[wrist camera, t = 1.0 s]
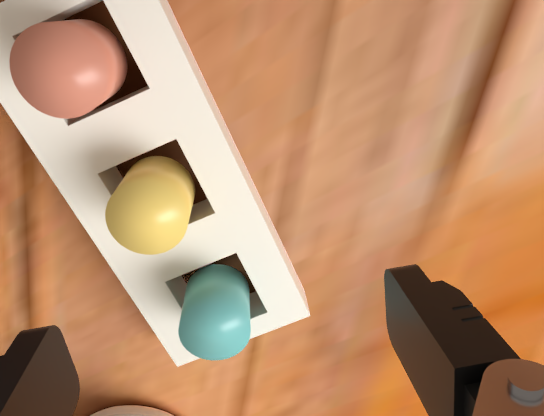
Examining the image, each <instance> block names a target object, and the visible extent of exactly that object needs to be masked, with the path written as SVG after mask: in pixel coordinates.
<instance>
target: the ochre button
mask: <svg viewBox="0 0 544 416" xmlns="http://www.w3.org/2000/svg"><path fill="white" fill-rule="evenodd" d="M194 197H195V184H194V181H193V178H192V176H191V174H190V173H189V171H188V170H187V169H186V168H185V167H184V166H183V165H182V164H180V163H179V162H177V161H176V160H173V159H171V158H168V157H164V156H151V157H146V158H143V159H141V160H139V161H138V162H136V163H135V164H134V165H133V166H132V167H131V168H130V169H129V171H128V172H127V174H126V175H125V177H124V178H123V179H122V181H121V182H120V184H119V185H118V187H117V188H116V190H115V191H114V193H113V194H112V196H111V197H110V199H109V201H108V203H107V206H106V210H105V220H106V224H107V227H108V230H109V232H110V233H111V235H112V236H113V238H114V239H115V240H116V241H117V242H118V243H119V244H120V245H122V246H123V247H125V248H126V249H128V250H130V251H133V252H135V253H139V254H145V255H154V254H160V253H164V252H166V251H169V250H171V249H172V248H174V247H175V246H176V245H177V244H179V242H180V241H181V240H182V239H183V237H184V235H185V233H186V230H187V227H188V223H189V218H190V214H191V210H192V206H193V202H194Z"/></svg>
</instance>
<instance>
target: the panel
mask: <svg viewBox="0 0 544 416" xmlns="http://www.w3.org/2000/svg"><path fill="white" fill-rule="evenodd" d="M101 1H104V3H105V5H106V7H107V8H108V10H109V12H110V14H111V16H112V18H113V20H114V22H115V24H116V26H117V27H118V29H119V31H120V33H121V35H122V37H123V39H124V41H125V43H126V45H127V46H128V48H129V50H130V52H131V54H132V56H133V58H134V60H135V62H136V63H137V65H138V67H139V69H140V71H141V73H142V75H143V77H144V79H145V81H146V82H147V84H148V86H146V87H143V88H141V89H139V90H137V91H135V92H132V93H130V94H128V95H126V96H124V97H122V98H119V99H117V100H115V101H113V102H111V103H108V104H106V105H104V106H102V107H100V108H97V109H95V110H93V111H91V112H89V113H87V114H85V115H83V116H80V117H76V118H69V119H64V118H56V117H52V116H49V115H47V114H44V113H42V112H40V111H38V110H37V109H35V108H34V107H33V106H31V105H30V104H29V103H28V102H27V101H26V100H25V99H24V98H23V97H22V95H21V94H20V93H19V91H18V90H17V88H16V86H15V84H14V82H13V79H12V76H11V72H10V63H9V59H10V52H11V48H12V46H13V44H14V42H15V40H16V38H17V37H18V36H19V35H20V34H21V33H22V32H23V31H24V30H25V29H27V28H28V27H30V26H32V25H35V24H37V23H42V22H52V21H62V20H64V19H66V18H68V17H70V16H72V15H74V14H76V13H78V12H81V11H83V10H85V9H87V8H89V7H91V6H93V5H95V4H97V3H99V2H101ZM0 103H1V104H2V106H3V107H4V109H5V110H6V112H7V113H8V115H9V116H10V118H11V119H12V121H13V122H14V124H15V125H16V127H17V128H18V130H19V131H20V133H21V134H22V136H23V137H24V139H25V140H26V142H27V143H28V145H29V146H30V148H31V149H32V151H33V152H34V154H35V155H36V157H37V158H38V160H39V161H40V162H41V164H42V165H43V167H44V168H45V170H46V171H47V173H48V174H49V176H50V177H51V179H52V180H53V182H54V183H55V185H56V186H57V188H58V189H59V191H60V192H61V194H62V195H63V197H64V198H65V200H66V201H67V203H68V204H69V206H70V207H71V209H72V210H73V212H74V213H75V215H76V216H77V218H78V219H79V221H80V222H81V224H82V225H83V227H84V228H85V230H86V231H87V233H88V234H89V236H90V237H91V239H92V240H93V242H94V243H95V245H96V246H97V248H98V249H99V251H100V252H101V254H102V255H103V256H104V258H105V259H106V261H107V262H108V264H109V265H110V267H111V268H112V270H113V271H114V273H115V274H116V276H117V277H118V279H119V280H120V282H121V283H122V285H123V286H124V288H125V289H126V291H127V292H128V294H129V295H130V297H131V298H132V300H133V301H134V303H135V304H136V306H137V307H138V309H139V310H140V312H141V313H142V315H143V316H144V318H145V319H146V321H147V322H148V324H149V325H150V327H151V328H152V330H153V331H154V333H155V334H156V336H157V337H158V339H159V340H160V342H161V343H162V345H163V346H164V348H165V349H166V350H167V352H168V353H169V355H170V356H171V358H172V359H173V361H174V362H175V364H176V365H177V367H178V366H181V365H183V364H186V363H189V362H191V361H194V360H196V359H199V357H197V356H195V355H193V354H191V353H190V352H189V351H187V350H186V349H185V347H184V346H183V345H182V343H181V341H180V338H179V334H178V329H179V323H180V318H181V312H182V307H183V302H184V297H185V291H186V286H187V284H186V282H185V281H184V279H183V277H182V276H181V275H183V274H186V273H188V272H190V271H193V270H195V269H198V268H200V267H203V266H205V265H208V264H210V263H213V262H215V261H218V260H220V259H222V258H225V257H227V256H230V255H232V254H235V253H237V255H238V257H239V259H240V261H241V263H242V265H243V267H244V269H245V270H246V272H247V274H248V276H249V278H250V280H251V282H252V284H253V286H254V288H255V289H256V291H255V292H253V293H250V324H251V334H250V339H251V338H254V337H256V336H259V335H261V334H264V333H267V332H269V331H272V330H274V329H277V328H280V327H282V326H285V325H288V324H290V323H293V322H295V321H298V320H301V319H303V318H306V317H308V316H310V312H309V308H308V303H307V299H306V295H305V290H304V288H303V286H302V284H301V282H300V280H299V278H298V276H297V274H296V271H295V269H294V267H293V265H292V263H291V261H290V259H289V257H288V254H287V252H286V250H285V248H284V246H283V244H282V242H281V240H280V238H279V235H278V233H277V231H276V229H275V227H274V225H273V223H272V221H271V219H270V216H269V214H268V212H267V210H266V208H265V206H264V204H263V202H262V200H261V197H260V195H259V193H258V191H257V189H256V187H255V185H254V183H253V181H252V178H251V176H250V174H249V172H248V170H247V168H246V166H245V164H244V162H243V159H242V157H241V155H240V153H239V151H238V149H237V147H236V145H235V142H234V140H233V138H232V136H231V134H230V132H229V130H228V128H227V126H226V123H225V121H224V119H223V117H222V115H221V113H220V111H219V109H218V107H217V104H216V102H215V100H214V98H213V96H212V94H211V92H210V90H209V88H208V85H207V83H206V81H205V79H204V77H203V75H202V73H201V71H200V69H199V66H198V64H197V62H196V60H195V58H194V56H193V54H192V52H191V49H190V47H189V45H188V43H187V41H186V39H185V37H184V35H183V33H182V30H181V28H180V26H179V24H178V22H177V20H176V18H175V16H174V14H173V11H172V9H171V7H170V5H169V3H168V1H167V0H5V1H3V2H1V3H0ZM175 139H177V141H178V143H179V145H180V147H181V149H182V151H183V153H184V155H185V157H186V158H187V160H188V162H189V164H190V166H191V168H192V170H193V172H194V174H195V176H196V177H197V179H198V181H199V183H200V185H201V187H202V189H203V191H204V193H205V194H206V196H207V198H208V199H206V200H203V201H201V202H199V203H196V204H194V205H193V206H192V210H191V214H190V218H189V223H188V227H187V230H186V233H185V235H184V237H183V239H182V240H181V241H180V242H179V244H177V245H176V246H175V247H174V248H172V249H171V250H169V251H166V252H164V253H160V254H154V255H145V254H139V253H135V252H133V251H130V250H128V249H126V248H125V247H123V246H122V245H120V244H119V243H118V242H117V241H116V240H115V239H114V238H113V236H112V235H111V233H110V232H109V230H108V227H107V224H106V220H105V210H106V206H107V203H108V201H109V199H110V197H111V196H112V194H113V193H114V191H115V190H116V188H117V187H118V185H119V184H120V182H121V181H122V179H123V177H122V175H121V174H120V172H119V170H118V169H117V167H116V165H118V164H120V163H123V162H125V161H127V160H130V159H132V158H134V157H136V156H139V155H141V154H143V153H145V152H148V151H150V150H152V149H154V148H157V147H159V146H161V145H164V144H166V143H168V142H170V141H173V140H175Z"/></svg>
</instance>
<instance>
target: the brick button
mask: <svg viewBox="0 0 544 416" xmlns="http://www.w3.org/2000/svg"><path fill="white" fill-rule="evenodd" d="M9 63H10V72H11V76H12V79H13V82H14V84H15V86H16V88H17V90H18V91H19V93H20V94H21V95H22V97H23V98H24V99H25V100H26V101H27V102H28V103H29V104H30V105H31V106H33V107H34V108H35V109H37V110H38V111H40V112H42V113H44V114H47V115H49V116H52V117H56V118H64V119H69V118H76V117H80V116H83V115H85V114H87V113H89V112H90V111H92V110H93V109H94V108H96V107H97V106H99V105H100V104H102V103H103V102H104V101H106V100H107V99H109V98H110V97H111V96H113V95H114V94H115V93H117V92H118V91H119V89H120V88H121V87H122V85H123V83H124V81H125V79H126V75H127V67H128V66H127V58H126V54H125V51H124V48H123V46H122V44H121V43H120V41H119V40H118V38H117V37H116V36H115V35H114V34H113V33H112V32H111V31H110V30H109V29H108V28H106V27H105V26H103V25H101V24H99V23H97V22H94V21H91V20H86V19H76V20H64V21H52V22H42V23H37V24H35V25H32V26H30V27H28V28H27V29H25V30H24V31H23V32H22V33H21V34H20V35H19V36H18V37H17V38H16V40H15V42H14V44H13V46H12V48H11V52H10V59H9Z"/></svg>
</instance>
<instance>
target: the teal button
mask: <svg viewBox="0 0 544 416" xmlns="http://www.w3.org/2000/svg"><path fill="white" fill-rule="evenodd" d="M178 334H179V338H180V341H181V343H182V345H183V346H184V347H185V349H186V350H187V351H189V352H190V353H191V354H193V355H195V356H197V357H199V358H202V359H206V360H223V359H227V358H230V357H232V356H234V355H236V354H238V353H239V352H240V351H242V350H243V349H244V347H245V346H246V345H247V343H248V341H249V339H250V334H251V324H250V293H249V285H248V282H247V280H246V278H245V277H244V275H243V274H242V273H241V272H240V271H238V270H237V269H235V268H233V267H230V266H227V265H222V264H213V265H208V266H205V267H202V268H200V269H199V270H197V271H196V272H195V273H194V274H193V275H192V276H191V277H190V279H189V281H188V283H187V286H186V291H185V297H184V302H183V307H182V312H181V318H180V323H179V329H178Z"/></svg>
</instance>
